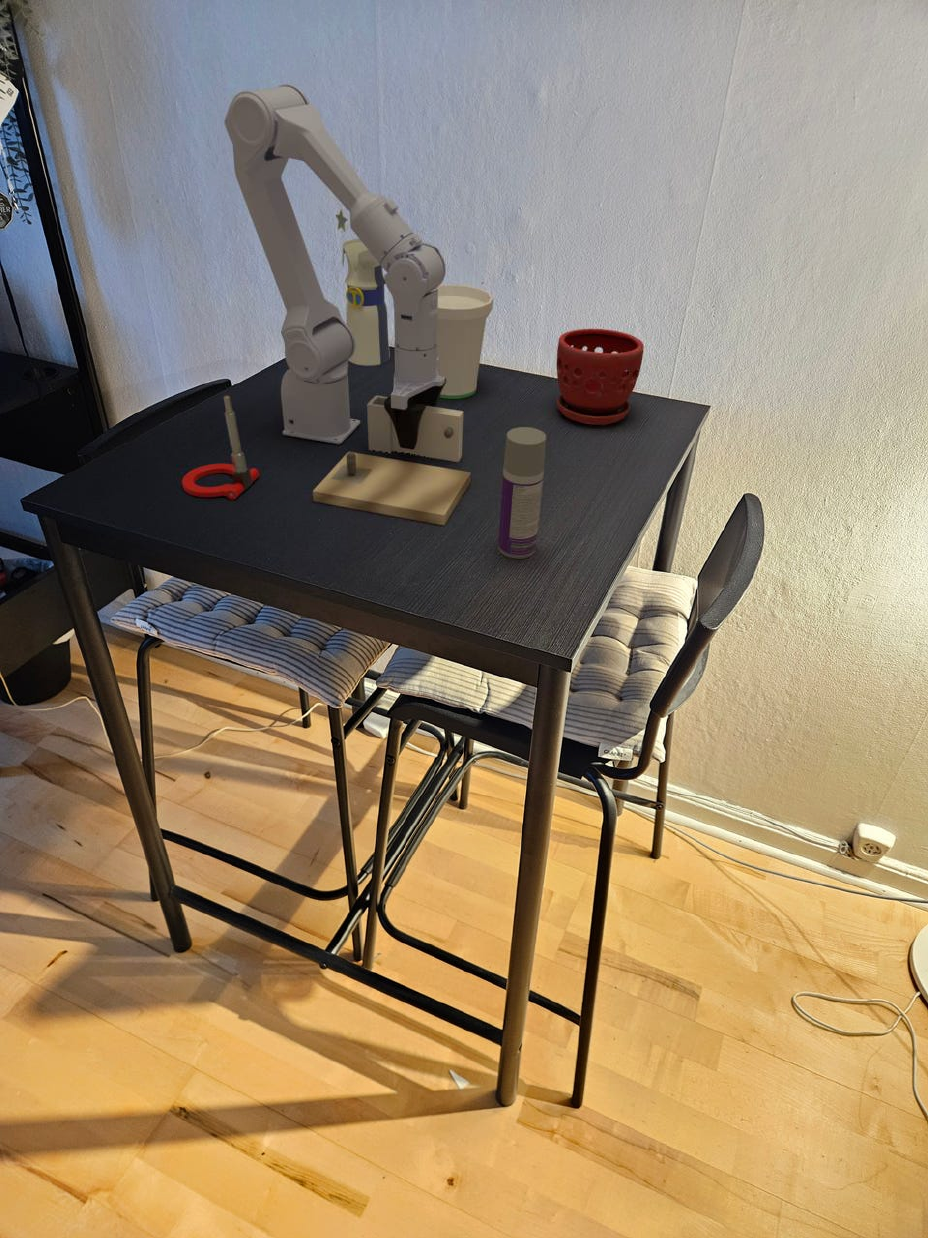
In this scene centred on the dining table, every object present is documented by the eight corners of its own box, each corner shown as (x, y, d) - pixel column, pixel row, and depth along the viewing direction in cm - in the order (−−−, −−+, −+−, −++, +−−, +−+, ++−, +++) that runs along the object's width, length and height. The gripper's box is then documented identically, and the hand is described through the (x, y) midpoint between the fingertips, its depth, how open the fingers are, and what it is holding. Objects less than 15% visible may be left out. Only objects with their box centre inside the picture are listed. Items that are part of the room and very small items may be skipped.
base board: (313, 501, 110) (310, 469, 107) (349, 461, 119) (347, 430, 116) (444, 525, 106) (444, 492, 103) (470, 482, 115) (471, 451, 112)
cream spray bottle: (376, 370, 146) (371, 214, 130) (336, 359, 149) (326, 207, 134) (401, 355, 152) (399, 205, 136) (362, 346, 155) (356, 198, 139)
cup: (488, 405, 136) (494, 310, 126) (412, 402, 136) (411, 306, 126) (488, 376, 145) (493, 285, 136) (416, 373, 145) (416, 282, 136)
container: (495, 538, 104) (503, 426, 95) (532, 537, 105) (543, 426, 95) (500, 559, 100) (508, 445, 91) (538, 558, 101) (550, 444, 92)
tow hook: (171, 495, 111) (234, 504, 108) (148, 402, 103) (215, 410, 101) (204, 467, 117) (264, 475, 115) (184, 378, 109) (248, 384, 107)
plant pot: (649, 419, 134) (662, 345, 126) (587, 437, 128) (597, 360, 120) (595, 390, 142) (605, 319, 135) (534, 406, 136) (541, 333, 129)
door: (368, 449, 122) (367, 404, 118) (377, 439, 124) (375, 395, 120) (456, 464, 119) (458, 418, 115) (463, 454, 122) (465, 409, 117)
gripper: (427, 366, 106) (426, 463, 114) (460, 330, 117) (457, 420, 125) (374, 358, 107) (377, 455, 115) (412, 323, 118) (412, 413, 126)
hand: (416, 436), depth 120 cm, fingers open, 7 cm apart
